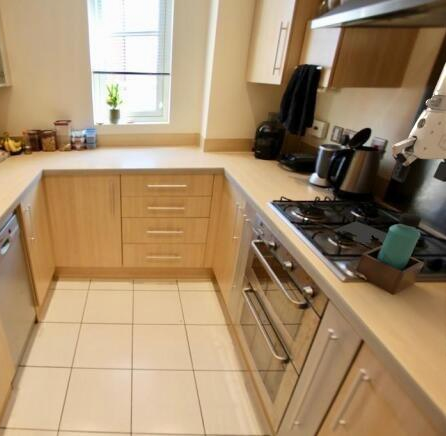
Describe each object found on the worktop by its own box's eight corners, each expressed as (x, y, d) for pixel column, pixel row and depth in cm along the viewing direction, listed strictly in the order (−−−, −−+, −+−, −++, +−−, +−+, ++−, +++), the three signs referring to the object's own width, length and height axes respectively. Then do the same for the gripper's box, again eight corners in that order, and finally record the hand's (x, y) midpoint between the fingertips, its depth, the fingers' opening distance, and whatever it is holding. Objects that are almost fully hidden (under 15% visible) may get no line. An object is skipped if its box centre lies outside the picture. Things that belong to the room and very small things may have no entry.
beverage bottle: (403, 287, 86) (436, 222, 76) (376, 284, 87) (405, 221, 77) (389, 272, 91) (418, 210, 82) (364, 270, 92) (390, 209, 83)
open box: (413, 283, 87) (424, 262, 84) (393, 294, 83) (404, 273, 80) (374, 264, 95) (382, 244, 92) (353, 273, 91) (362, 253, 88)
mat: (398, 239, 107) (399, 238, 106) (375, 250, 101) (375, 249, 101) (355, 222, 118) (356, 221, 118) (332, 231, 112) (332, 230, 112)
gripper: (424, 107, 64) (392, 186, 72) (514, 106, 63) (471, 185, 71) (397, 102, 71) (370, 174, 79) (477, 101, 70) (442, 174, 78)
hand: (418, 179), depth 75 cm, fingers open, 9 cm apart
